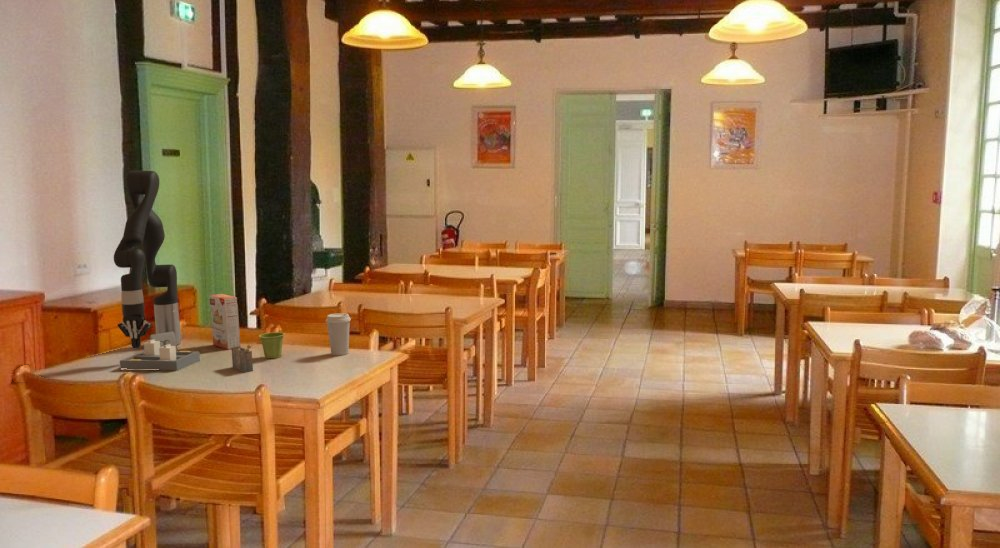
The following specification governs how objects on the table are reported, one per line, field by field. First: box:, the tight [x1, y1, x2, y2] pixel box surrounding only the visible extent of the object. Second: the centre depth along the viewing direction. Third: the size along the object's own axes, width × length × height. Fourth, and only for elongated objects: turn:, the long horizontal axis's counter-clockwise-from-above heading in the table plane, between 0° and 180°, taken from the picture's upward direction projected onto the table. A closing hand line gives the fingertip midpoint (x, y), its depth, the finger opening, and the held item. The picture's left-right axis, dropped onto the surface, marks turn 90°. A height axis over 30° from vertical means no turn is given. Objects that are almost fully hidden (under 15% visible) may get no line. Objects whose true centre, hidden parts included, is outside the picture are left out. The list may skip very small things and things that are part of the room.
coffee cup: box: [325, 312, 352, 357], centre depth 315 cm, size 10×10×15 cm
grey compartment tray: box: [119, 350, 201, 371], centre depth 304 cm, size 16×22×4 cm
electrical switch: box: [149, 332, 179, 351], centre depth 320 cm, size 9×5×9 cm, turn 134°
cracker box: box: [209, 293, 242, 351], centre depth 333 cm, size 14×6×21 cm, turn 42°
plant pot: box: [258, 331, 285, 360], centre depth 312 cm, size 9×9×9 cm
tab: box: [159, 344, 177, 360], centre depth 298 cm, size 4×4×7 cm
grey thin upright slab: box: [231, 344, 254, 373], centre depth 294 cm, size 11×3×10 cm, turn 41°
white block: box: [143, 339, 160, 355], centre depth 308 cm, size 4×4×7 cm
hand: (136, 347), depth 309 cm, fingers closed
